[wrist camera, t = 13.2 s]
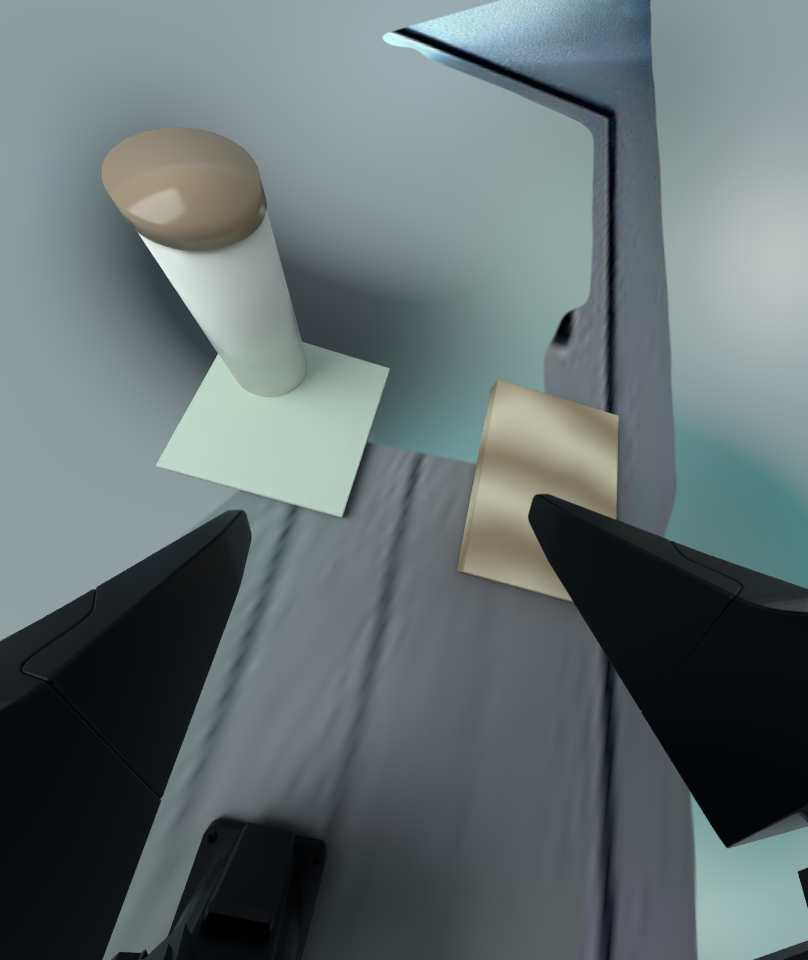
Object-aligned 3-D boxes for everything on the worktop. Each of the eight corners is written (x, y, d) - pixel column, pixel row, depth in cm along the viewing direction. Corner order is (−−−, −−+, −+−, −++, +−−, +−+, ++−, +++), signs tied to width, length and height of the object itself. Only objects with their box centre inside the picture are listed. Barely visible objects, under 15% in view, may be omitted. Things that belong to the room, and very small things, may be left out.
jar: (321, 380, 24) (282, 204, 12) (249, 409, 22) (130, 239, 11) (289, 326, 25) (227, 118, 13) (219, 350, 23) (81, 139, 12)
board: (597, 609, 22) (614, 612, 21) (456, 571, 21) (463, 571, 20) (604, 424, 27) (618, 416, 26) (490, 389, 26) (498, 378, 25)
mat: (342, 518, 21) (341, 516, 21) (161, 468, 21) (155, 465, 20) (389, 373, 25) (389, 368, 25) (239, 327, 25) (236, 321, 24)
